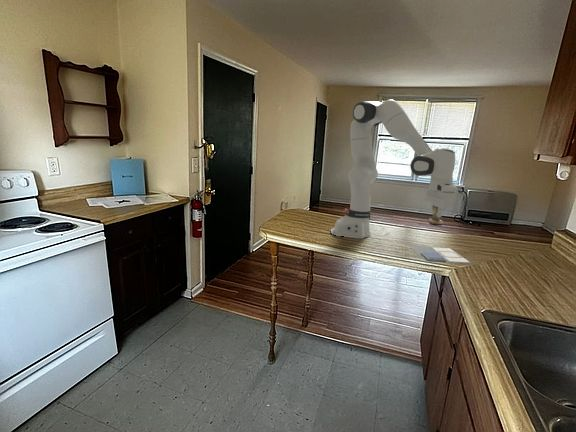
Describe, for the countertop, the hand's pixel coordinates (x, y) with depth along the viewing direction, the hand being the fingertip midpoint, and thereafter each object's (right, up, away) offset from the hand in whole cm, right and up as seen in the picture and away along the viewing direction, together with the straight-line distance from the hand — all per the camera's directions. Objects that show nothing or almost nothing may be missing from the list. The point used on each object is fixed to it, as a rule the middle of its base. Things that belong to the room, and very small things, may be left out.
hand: (436, 215), depth 142 cm
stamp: (0, -4, +1) cm, 4 cm away
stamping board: (+4, -19, +5) cm, 20 cm away
